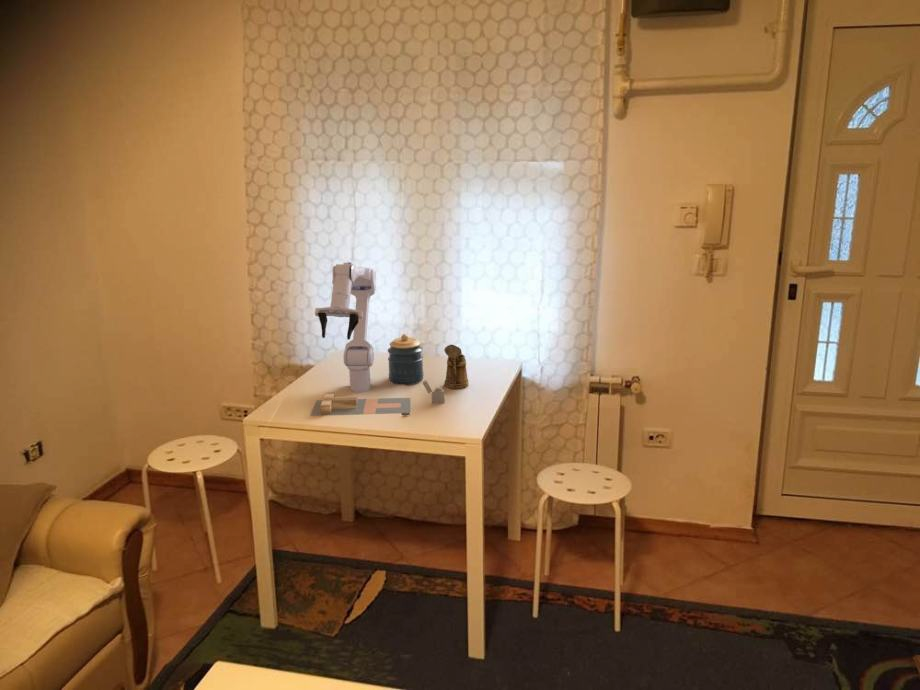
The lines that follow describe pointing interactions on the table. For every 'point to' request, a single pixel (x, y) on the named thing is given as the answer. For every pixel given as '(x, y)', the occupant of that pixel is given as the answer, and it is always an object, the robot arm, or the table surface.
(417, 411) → the table surface
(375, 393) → the table surface
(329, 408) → the t block
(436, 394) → the lighter
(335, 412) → the slate board
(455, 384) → the bronze figurine
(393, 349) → the canister
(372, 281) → the robot arm
